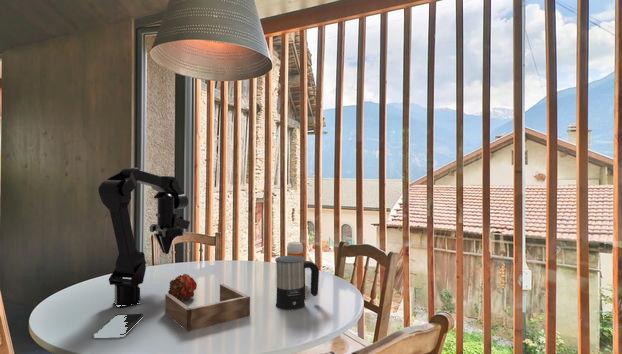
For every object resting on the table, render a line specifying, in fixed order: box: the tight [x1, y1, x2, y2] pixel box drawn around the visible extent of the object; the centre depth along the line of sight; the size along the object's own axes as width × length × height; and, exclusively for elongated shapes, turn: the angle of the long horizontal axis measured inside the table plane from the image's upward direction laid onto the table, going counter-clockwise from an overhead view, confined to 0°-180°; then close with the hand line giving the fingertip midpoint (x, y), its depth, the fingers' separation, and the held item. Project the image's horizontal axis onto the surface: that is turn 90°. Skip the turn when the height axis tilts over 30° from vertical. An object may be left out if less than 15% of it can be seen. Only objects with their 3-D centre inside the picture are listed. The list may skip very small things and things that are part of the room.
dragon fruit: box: [167, 273, 198, 301], centre depth 128 cm, size 8×8×12 cm
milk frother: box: [274, 255, 320, 311], centre depth 125 cm, size 14×16×15 cm
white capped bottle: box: [286, 241, 304, 257], centre depth 147 cm, size 6×6×15 cm
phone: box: [115, 313, 144, 335], centre depth 103 cm, size 8×1×15 cm
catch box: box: [164, 283, 251, 332], centre depth 113 cm, size 18×17×6 cm
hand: (165, 253), depth 141 cm, fingers open, 2 cm apart
